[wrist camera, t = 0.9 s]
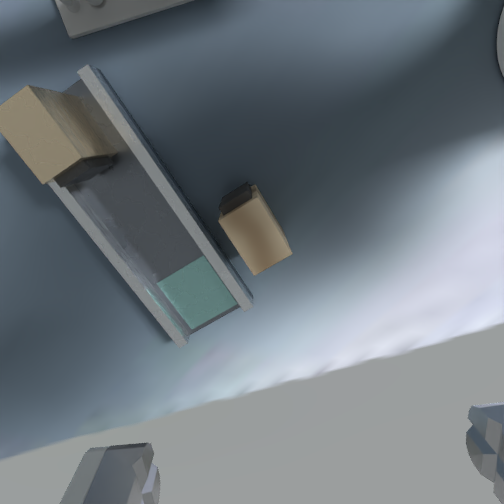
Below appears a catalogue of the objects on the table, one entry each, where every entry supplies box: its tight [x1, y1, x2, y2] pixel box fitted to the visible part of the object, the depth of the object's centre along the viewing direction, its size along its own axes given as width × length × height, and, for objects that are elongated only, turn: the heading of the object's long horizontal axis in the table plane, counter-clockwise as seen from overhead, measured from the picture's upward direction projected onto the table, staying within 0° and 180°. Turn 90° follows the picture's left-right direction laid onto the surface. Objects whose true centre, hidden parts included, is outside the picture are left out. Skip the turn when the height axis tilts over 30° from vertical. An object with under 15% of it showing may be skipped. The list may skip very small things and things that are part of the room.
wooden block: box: [218, 182, 292, 276], centre depth 34 cm, size 4×7×8 cm, turn 31°
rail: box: [0, 64, 253, 348], centre depth 33 cm, size 10×28×9 cm, turn 31°
